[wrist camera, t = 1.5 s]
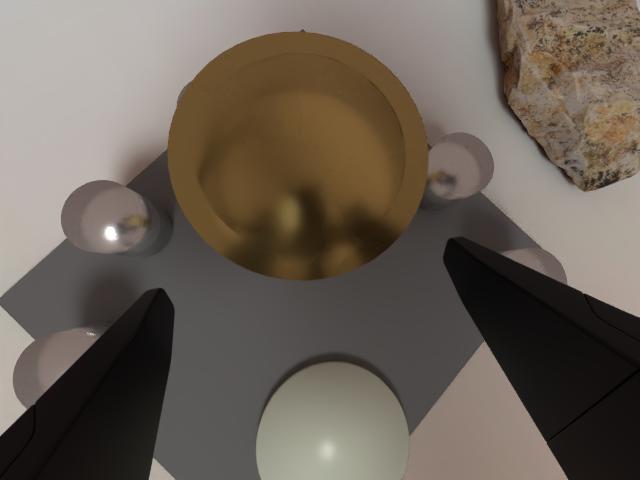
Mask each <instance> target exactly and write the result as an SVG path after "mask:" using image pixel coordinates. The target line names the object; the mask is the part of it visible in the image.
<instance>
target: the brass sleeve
mask: <svg viewBox="0 0 640 480" xmlns="http://www.w3.org/2000/svg"><path fill="white" fill-rule="evenodd" d="M167 151H168V168H169V174H170V179H171V184H172V187H173V190H174V193H175V196H176V199H177V201H178V203H179V205H180V207H181V209H182V211H183V213H184V215H185V216H186V218H187V219H188V221H189V222H190V224H191V225H192V227H193V228H194V229H195V231H196V232H197V233H198V234H199V235H200V236H201V237H202V238H203V239H204V240H205V242H206V243H207V244H209V245H210V246H211V247H212V248H213V249H215V250H216V251H217V252H218V253H219V254H221V255H222V256H224V257H225V258H227V259H229V260H230V261H232V262H233V263H235V264H237V265H239V266H241V267H243V268H245V269H248V270H250V271H252V272H255V273H258V274H262V275H265V276H268V277H273V278H279V279H285V280H302V281H308V280H318V279H325V278H330V277H334V276H338V275H342V274H345V273H347V272H350V271H352V270H355V269H358V268H359V267H361V266H363V265H365V264H367V263H369V262H370V261H372V260H374V259H375V258H376V257H378V256H379V255H380V254H382V253H383V252H385V251H386V250H387V249H388V248H389V247H390V246H391V245H392V244H393V243H394V242H395V241H396V240H397V239H398V238H399V237H400V236H401V234H402V233H403V232H404V231H405V229H406V228H407V227H408V225H409V224H410V222H411V220H412V219H413V217H414V215H415V213H416V212H417V209H418V207H419V204H420V202H421V199H422V197H423V193H424V190H425V186H426V182H427V174H428V166H429V165H428V145H427V138H426V133H425V129H424V126H423V122H422V119H421V116H420V114H419V112H418V109H417V107H416V105H415V103H414V101H413V100H412V98H411V96H410V95H409V93H408V91H407V90H406V88H405V87H404V86H403V85H402V83H401V82H400V81H399V79H398V78H397V77H396V76H395V75H394V74H393V73H392V72H391V71H390V70H389V69H388V68H387V67H386V66H385V65H383V64H382V63H381V62H380V61H379V60H377V59H376V58H375V57H373V56H372V55H370V54H369V53H367V52H365V51H364V50H362V49H360V48H358V47H356V46H354V45H352V44H350V43H348V42H345V41H342V40H340V39H337V38H334V37H330V36H326V35H321V34H316V33H307V32H281V33H274V34H267V35H263V36H260V37H256V38H252V39H250V40H247V41H245V42H242V43H240V44H237V45H235V46H234V47H232V48H230V49H228V50H226V51H225V52H223V53H221V54H220V55H219V56H217V57H216V58H215V59H213V60H212V61H211V62H209V63H208V64H207V65H206V66H205V67H204V68H203V69H202V70H201V71H200V72H199V73H198V74H197V75H196V77H195V78H194V79H193V81H192V82H191V83H190V84H189V86H188V87H187V89H186V91H185V92H184V94H183V96H182V97H181V99H180V101H179V103H178V106H177V108H176V111H175V113H174V116H173V119H172V123H171V127H170V131H169V139H168V148H167Z"/></svg>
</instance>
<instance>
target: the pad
mask: <svg viewBox="0 0 640 480" xmlns="http://www.w3.org/2000/svg"><path fill="white" fill-rule="evenodd" d="M408 456H409V432H408V426H407V422H406V418H405V415H404V412H403V410H402V407H401V406H400V404H399V402H398V400H397V398H396V397H395V395H394V394H393V393H392V391H391V390H390V389H389V387H388V386H387V385H386V384H385V383H384V382H383V381H382V380H381V379H380V378H379V377H378V376H376V375H375V374H374V373H372V372H371V371H369V370H368V369H366V368H364V367H361V366H359V365H357V364H353V363H350V362H344V361H324V362H319V363H315V364H311V365H309V366H306V367H304V368H302V369H300V370H299V371H297V372H295V373H294V374H292V375H291V376H290V377H288V378H287V379H286V380H285V381H284V382H283V383H282V384H281V385H280V386H279V387H278V388H277V390H276V391H275V392H274V393H273V395H272V396H271V398H270V400H269V401H268V403H267V405H266V407H265V410H264V412H263V415H262V418H261V421H260V425H259V428H258V434H257V440H256V459H257V466H258V471H259V475H260V478H261V480H402V479H403V476H404V473H405V470H406V466H407V462H408Z"/></svg>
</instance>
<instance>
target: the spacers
mask: <svg viewBox="0 0 640 480" xmlns="http://www.w3.org/2000/svg"><path fill="white" fill-rule="evenodd" d="M191 82H192V81H191ZM191 82H190V83H191ZM190 83H188V84H187V85H186V86H185V87H184V88H183V90H182V91H181V93H180V95H179V97H178V101H177V106H178V103H179V101H180V99H181V97H182V96H183V94H184V92H185V91H186V89H187V87H188V86H189V84H190ZM428 165H429V166H428V174H427V182H426V186H425V190H424V193H423V197H422V199H421V202H420V204H419V207H418V208H420V209H422V210H426V211H438V210H441V209H443V208H445V207H447V206H450V205H452V204H454V203H456V202H458V201H460V200H462V199H465V198H467V197H469V196H471V195H473V194H475V193H478V192H479V191H481V190H483V189H484V188H485V187H486V186H487V185H488V183H489V182H490V180H491V178H492V175H493V171H494V163H493V158H492V155H491V153H490V151H489V149H488V148H487V146H486V145H485V144H484V143H483V142H482V141H481V140H480V139H478V138H477V137H475V136H473V135H470V134H467V133H453V134H449V135H447V136H445V137H443V138H442V139H441V140H440V141H439V142H438V143H437V144H436V145H435V146H434V147H432V148H431V149H430V150H429V151H428ZM61 224H62V228H63V231H64V233H65V235H66V237H67V238H68V240H69V241H70V242H71V243H72V244H74V245H75V246H76V247H78V248H80V249H82V250H85V251H88V252H95V253H104V254H112V255H120V256H129V257H137V258H145V257H150V256H153V255H155V254H157V253H159V252H160V251H162V250H163V249H164V248H165V247H166V246H167V244H168V243H169V241H170V239H171V237H172V233H173V222H172V219H171V216H170V214H169V213H168V212H167V210H166V209H165V208H163V207H162V206H161V205H159V204H157V203H155V202H153V201H151V200H150V199H148V198H146V197H144V196H142V195H140V194H138V193H136V192H134V191H132V190H130V189H129V188H127V187H125V186H123V185H121V184H119V183H116V182H113V181H108V180H98V181H92V182H89V183H86V184H84V185H82V186H81V187H79V188H77V189H76V190H75V191H74V192H73V193H72V194H71V195H70V196H69V197H68V199H67V200H66V202H65V204H64V206H63V209H62V214H61ZM497 253H499V254H501V255H504V256H506V257H508V258H510V259H512V260H514V261H516V262H519V263H521V264H523V265H525V266H527V267H529V268H531V269H534V270H536V271H538V272H540V273H542V274H544V275H546V276H549V277H551V278H553V279H555V280H557V281H559V282H561V283H564V284H566V285H567V278H566V274H565V271H564V269H563V267H562V265H561V263H560V262H559V261H558V260H557V259H556V258H555V257H554V256H553V255H552V254H551V253H549V252H547V251H545V250H543V249H539V248H525V249H517V250H509V251H500V252H497ZM115 321H116V320H108V321H104V322H100V323H96V324H91V325H87V326H83V327H78V328H74V329H70V330H66V331H61V332H57V333H53V334H49V335H46V336H43V337H41V338H39V339H37V340H35V341H34V342H32V343H31V344H30V345H29V346H28V347H27V348H26V349H25V350H24V351H23V353H22V354H21V355H20V357H19V359H18V360H17V363H16V365H15V369H14V373H13V386H14V390H15V393H16V396H17V398H18V399H19V401H20V402H21V403H22V404H23V406H25V407H26V408H27V409H28V408H29V407H30V406H31V405H34V404H35V402H36V401H37V400H38V399H39V398H40V397H41V396H42V395H43V394H44V393H45V392H46V390H47V389H48V388H49V387H50V386H51V385H52V384H53V383H54V382H55V381H56V380H57V379H58V378H59V377H60V376H61V375H62V374H63V373H64V372H65V371H66V370H67V369H68V368H69V367H70V366H71V365H72V364H73V363H74V362H75V361H76V360H77V359H78V358H79V357H80V356H81V355H82V354H83V353H84V352H85V351H86V350H87V349H88V348H89V347H90V346H91V345H92V344H93V343H94V342H95V341H96V340H97V339H98V338H99V337H100V336H101V335H102V334H103V333H104V332H105V331H106V330H107V329H108V328H109V327H110V326H111V325H112V324H113V323H114V322H115Z"/></svg>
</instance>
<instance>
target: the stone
mask: <svg viewBox="0 0 640 480" xmlns="http://www.w3.org/2000/svg"><path fill="white" fill-rule="evenodd" d="M497 6H498V13H497V21H498V28H499V48H500V55H501V57H502V61H503V62H505V77H504V94H506V95H507V99H508V104H509V105H511V108H512V110H513V111H514V113H515V114H516V115H517V116H518V117H519V119H520V120H521V121H522V123H523V125H524V126H525V127H526V128H527V130H528V133H529V135H530V136H533V137H534V138H535V139H536V141H537V142H538V143H540V144H541V145H542V146H543V148H544V150H545V152H546V154H547V156H548V157H549V158H550V160H551V161H552V162H553V163H554V164H556V165H557V166H559V167H561V168H563V169H565V171H566V173H567V175H569V176H570V177H571V178H572V181H573V182H574V183H575V184H576V186H577V187H578V188H579V189H581V190H582V191H584V192H587V191H592V190H597V189H600V188H602V187H605V186H608V185H610V184H613V183H615V182H617V181H620V180H623V179H626V178H629V177H631V176H633V175H635V174H636V173H637V172H639V171H640V12H639V10H638V8H637V2H636V0H497Z"/></svg>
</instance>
